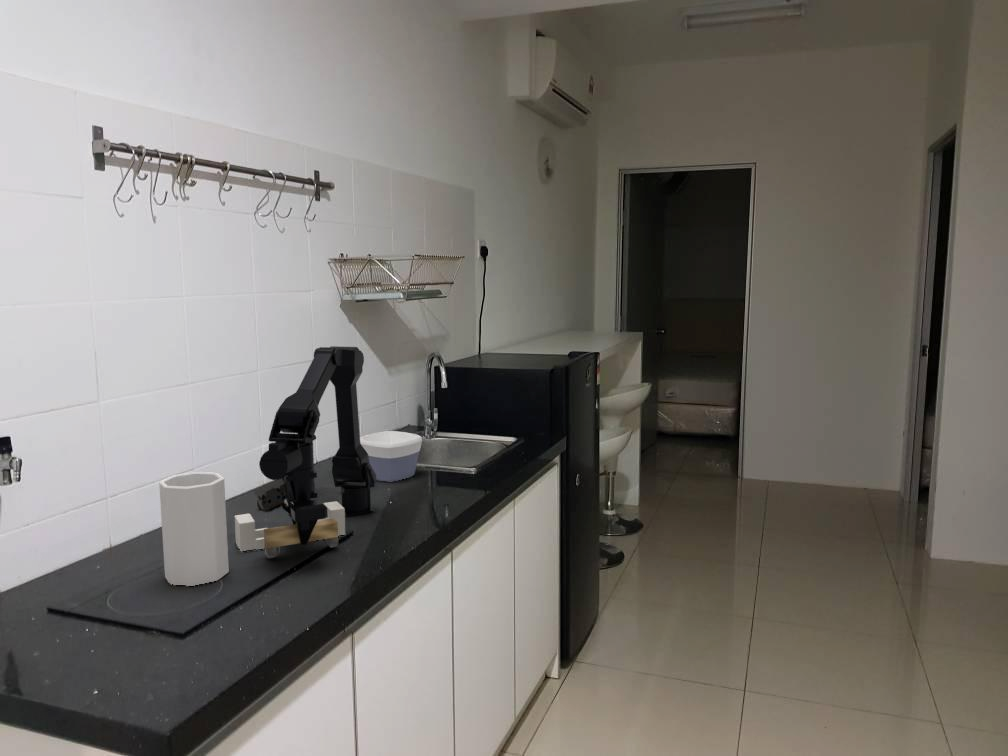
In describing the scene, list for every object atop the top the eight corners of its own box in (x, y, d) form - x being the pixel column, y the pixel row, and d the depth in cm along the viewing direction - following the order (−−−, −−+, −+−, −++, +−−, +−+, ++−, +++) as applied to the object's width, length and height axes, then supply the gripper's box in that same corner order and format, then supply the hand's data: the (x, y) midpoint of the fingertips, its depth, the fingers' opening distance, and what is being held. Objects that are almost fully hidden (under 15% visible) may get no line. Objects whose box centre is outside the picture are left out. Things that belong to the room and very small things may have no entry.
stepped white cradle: (337, 526, 171) (336, 500, 170) (345, 536, 165) (345, 509, 164) (235, 542, 161) (234, 515, 160) (241, 553, 155) (239, 524, 154)
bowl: (390, 466, 224) (389, 429, 223) (430, 474, 215) (429, 435, 214) (350, 477, 212) (349, 438, 210) (391, 487, 203) (390, 445, 201)
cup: (190, 592, 136) (184, 491, 133) (151, 579, 142) (145, 481, 139) (241, 571, 145) (237, 476, 143) (203, 560, 151) (198, 468, 149)
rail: (334, 541, 159) (333, 518, 158) (338, 546, 156) (337, 522, 156) (264, 553, 153) (263, 529, 152) (267, 558, 150) (266, 533, 149)
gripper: (248, 461, 157) (251, 534, 159) (266, 483, 140) (270, 565, 142) (303, 454, 162) (305, 526, 164) (327, 475, 145) (329, 554, 148)
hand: (301, 542), depth 154 cm, fingers closed on rail, 3 cm apart
